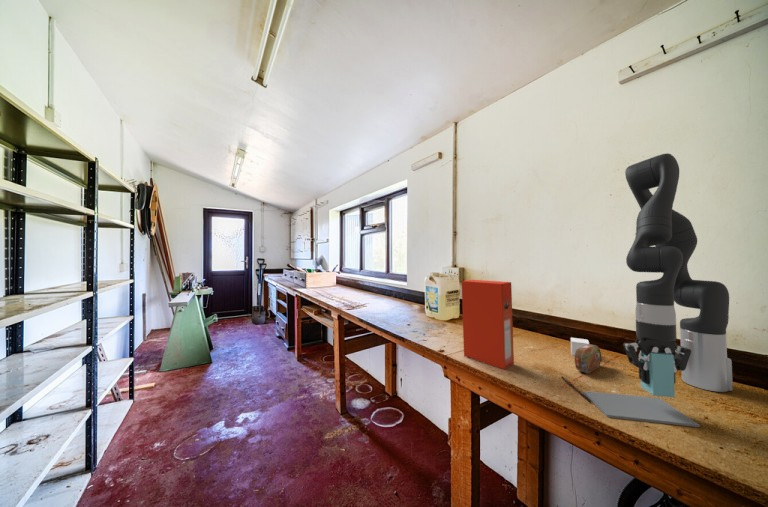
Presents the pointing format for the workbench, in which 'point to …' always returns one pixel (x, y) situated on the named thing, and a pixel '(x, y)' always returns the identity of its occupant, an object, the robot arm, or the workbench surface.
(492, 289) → the file binder
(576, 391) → the dark brown rod
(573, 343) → the white cube
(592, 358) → the tin
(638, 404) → the mat
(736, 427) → the workbench surface
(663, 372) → the block
